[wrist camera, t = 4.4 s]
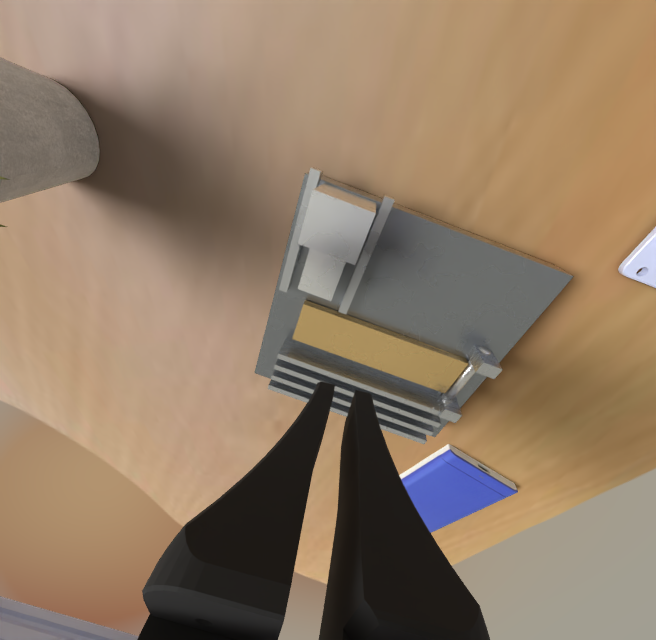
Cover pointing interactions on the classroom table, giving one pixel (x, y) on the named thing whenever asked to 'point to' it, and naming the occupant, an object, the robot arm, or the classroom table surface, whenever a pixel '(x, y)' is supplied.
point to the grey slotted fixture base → (408, 311)
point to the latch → (332, 237)
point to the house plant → (41, 134)
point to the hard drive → (453, 487)
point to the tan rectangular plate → (378, 347)
